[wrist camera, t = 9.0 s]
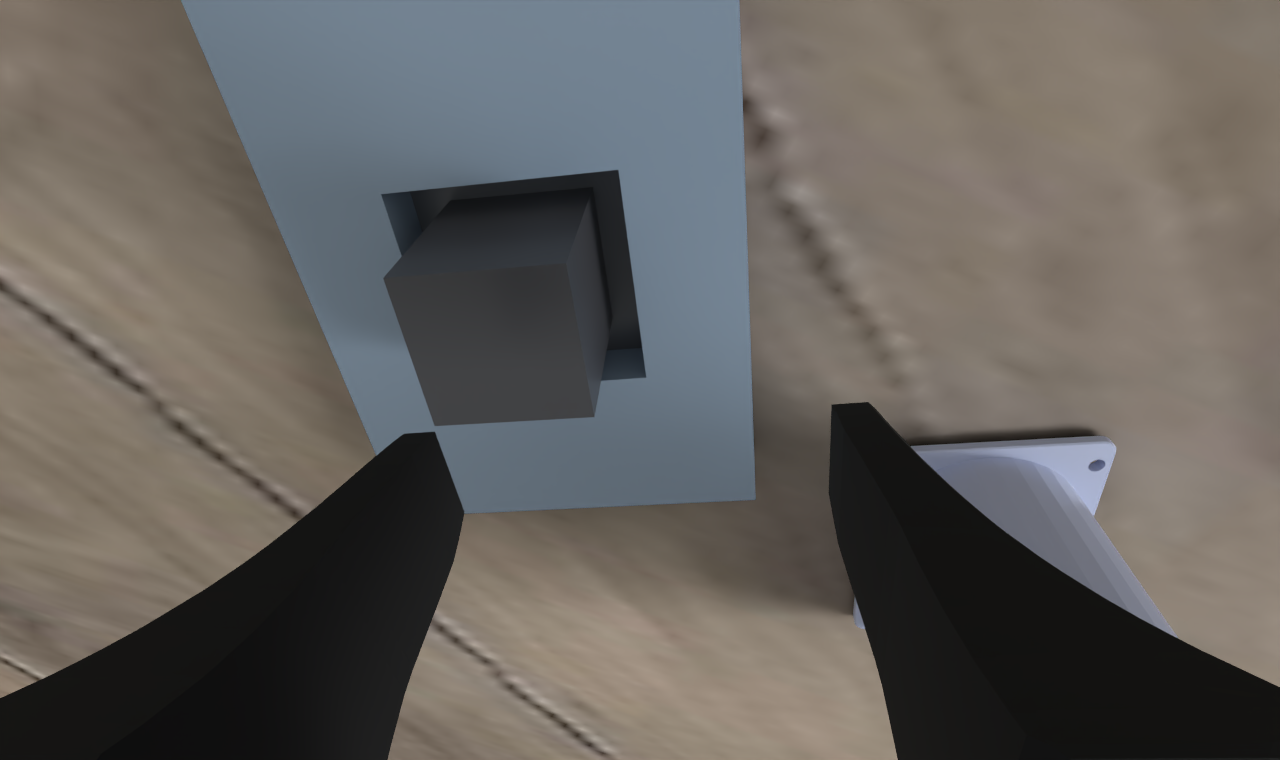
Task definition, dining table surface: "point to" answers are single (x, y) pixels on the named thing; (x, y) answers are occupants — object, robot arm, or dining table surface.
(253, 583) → the robot arm
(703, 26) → the pale blue socket slab
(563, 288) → the plug
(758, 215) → the dining table surface
